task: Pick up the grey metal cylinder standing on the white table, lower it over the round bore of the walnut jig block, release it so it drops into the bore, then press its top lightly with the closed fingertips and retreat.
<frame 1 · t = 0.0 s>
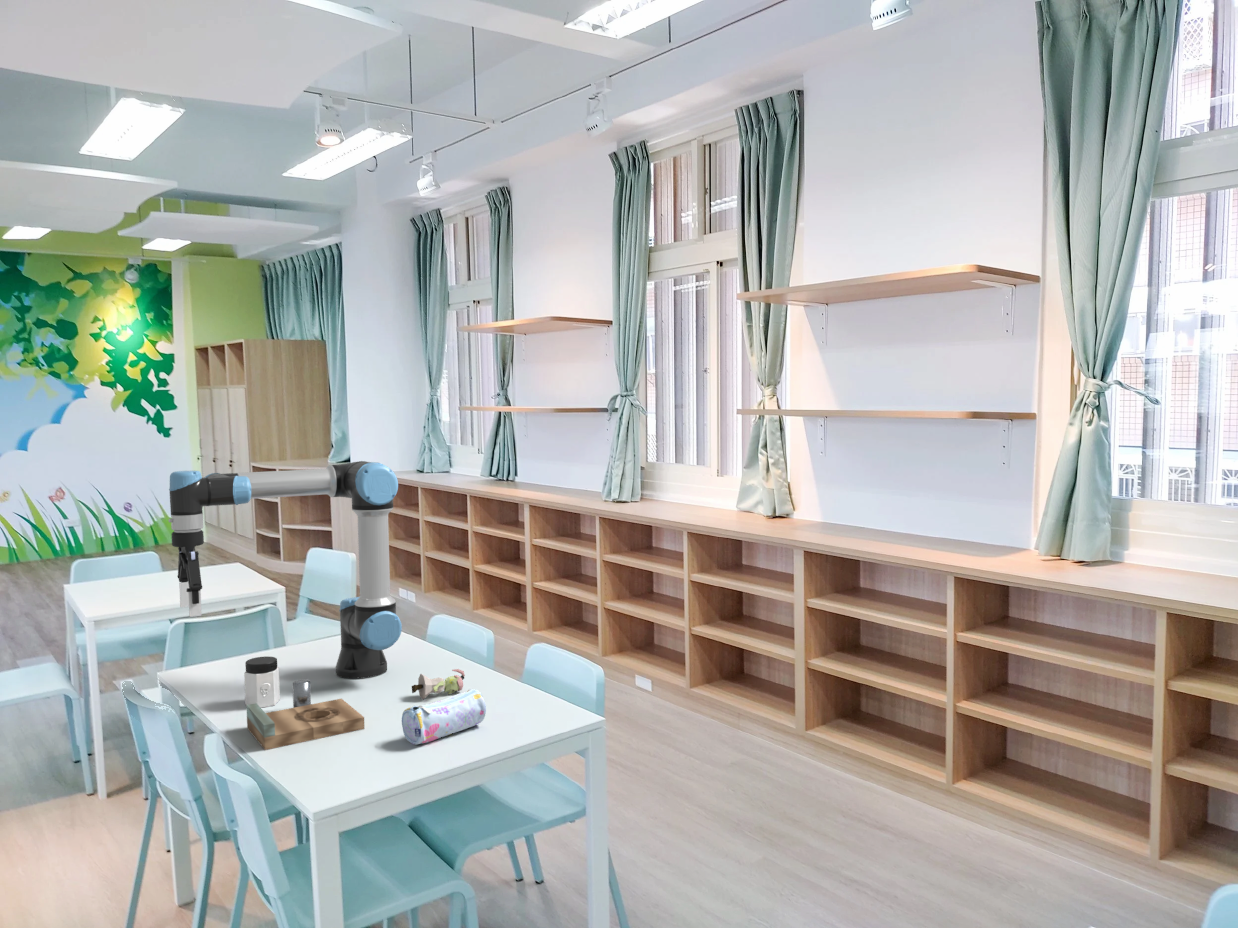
hand: (190, 611, 238), 28 cm above the table, fingers open, 13 cm apart
pencil case: (444, 734, 225), on the table
jig: (305, 728, 230), on the table
figurine: (440, 697, 255), on the table
grey metal cylinder: (302, 711, 243), on the table
jar: (262, 703, 250), on the table
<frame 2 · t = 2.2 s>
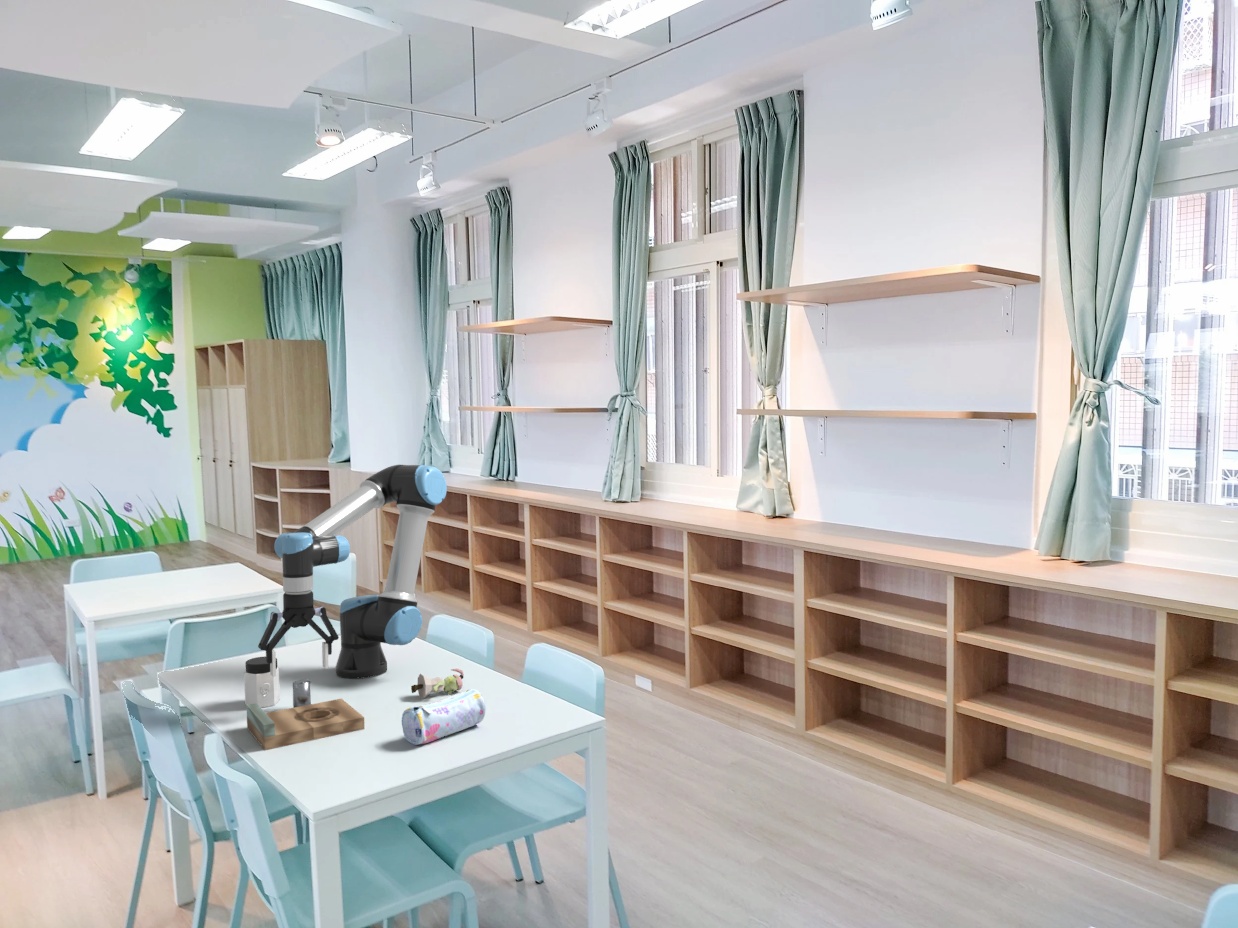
hand: (299, 670, 242), 11 cm above the table, fingers open, 13 cm apart
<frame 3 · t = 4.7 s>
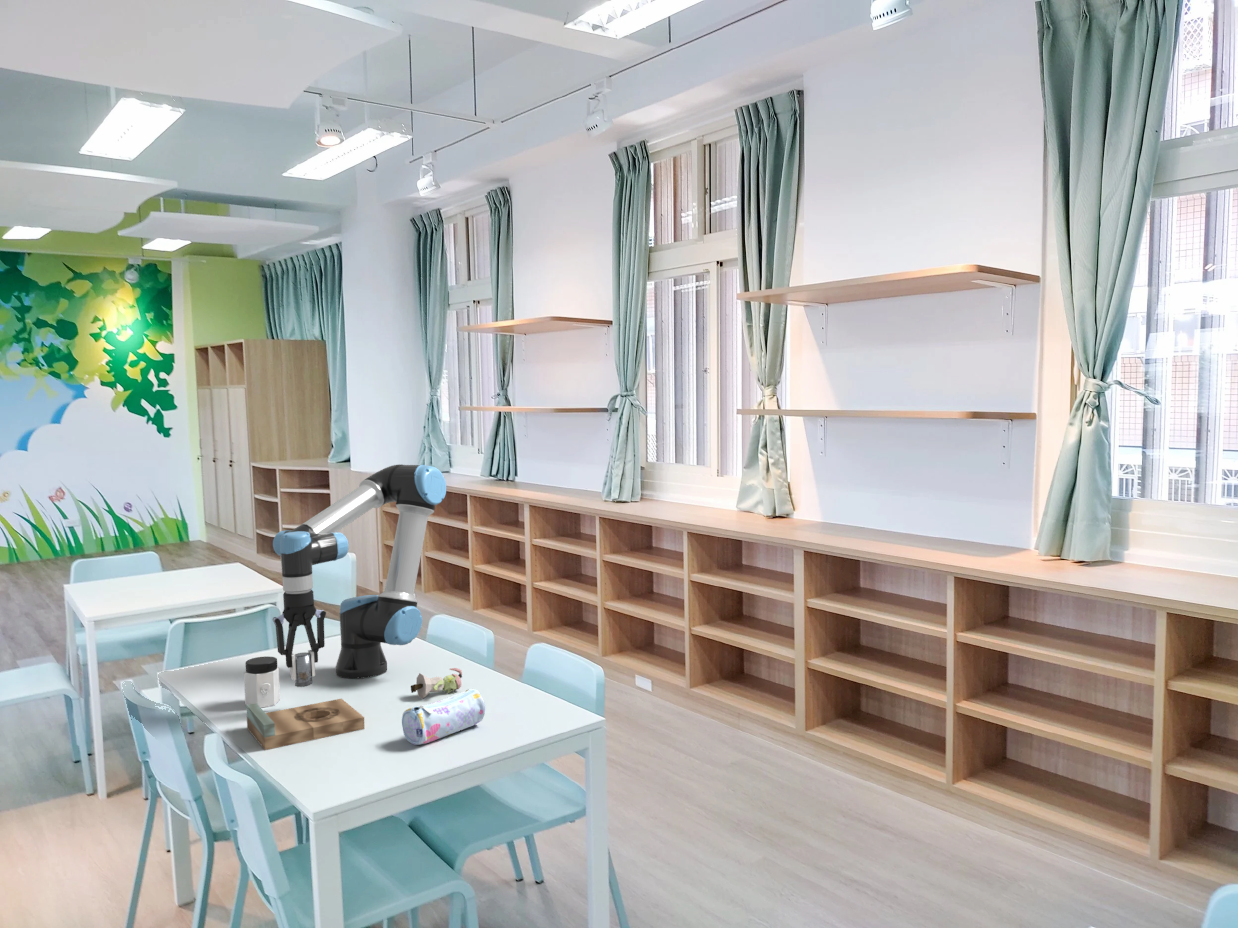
hand: (303, 676, 243), 9 cm above the table, fingers closed on grey metal cylinder, 4 cm apart
grey metal cylinder: (303, 684, 243), point 7 cm above the table, touching gripper
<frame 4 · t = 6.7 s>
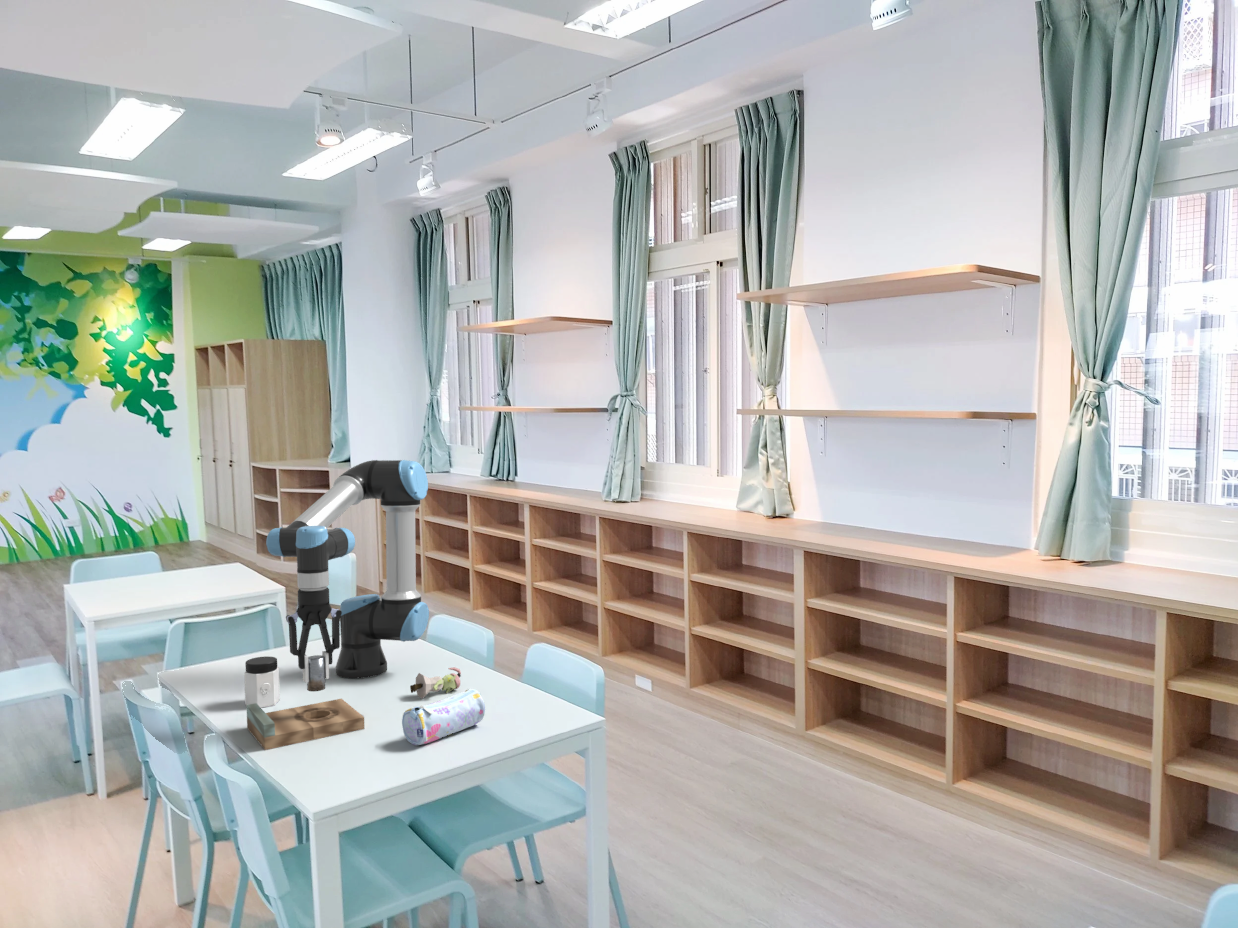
hand: (316, 678, 231), 12 cm above the table, fingers closed on grey metal cylinder, 4 cm apart
grey metal cylinder: (316, 688, 231), point 10 cm above the table, touching gripper
when the fingers open (4 cm above the table, at t = 9.0 s): grey metal cylinder drops 1 cm, resting in jig.
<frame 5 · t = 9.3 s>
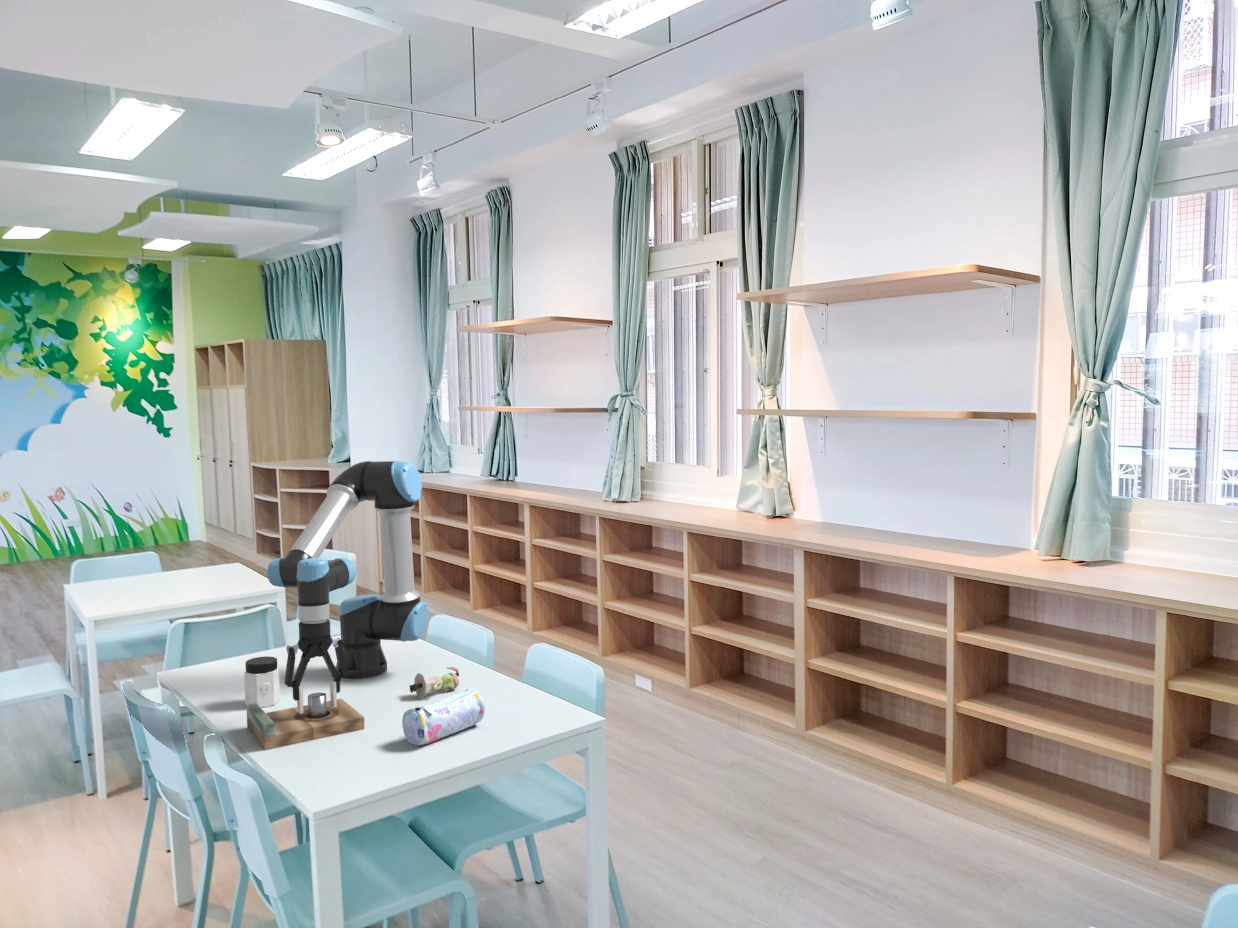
hand: (317, 708, 231), 4 cm above the table, fingers open, 8 cm apart
grey metal cylinder: (317, 726, 232), resting in jig
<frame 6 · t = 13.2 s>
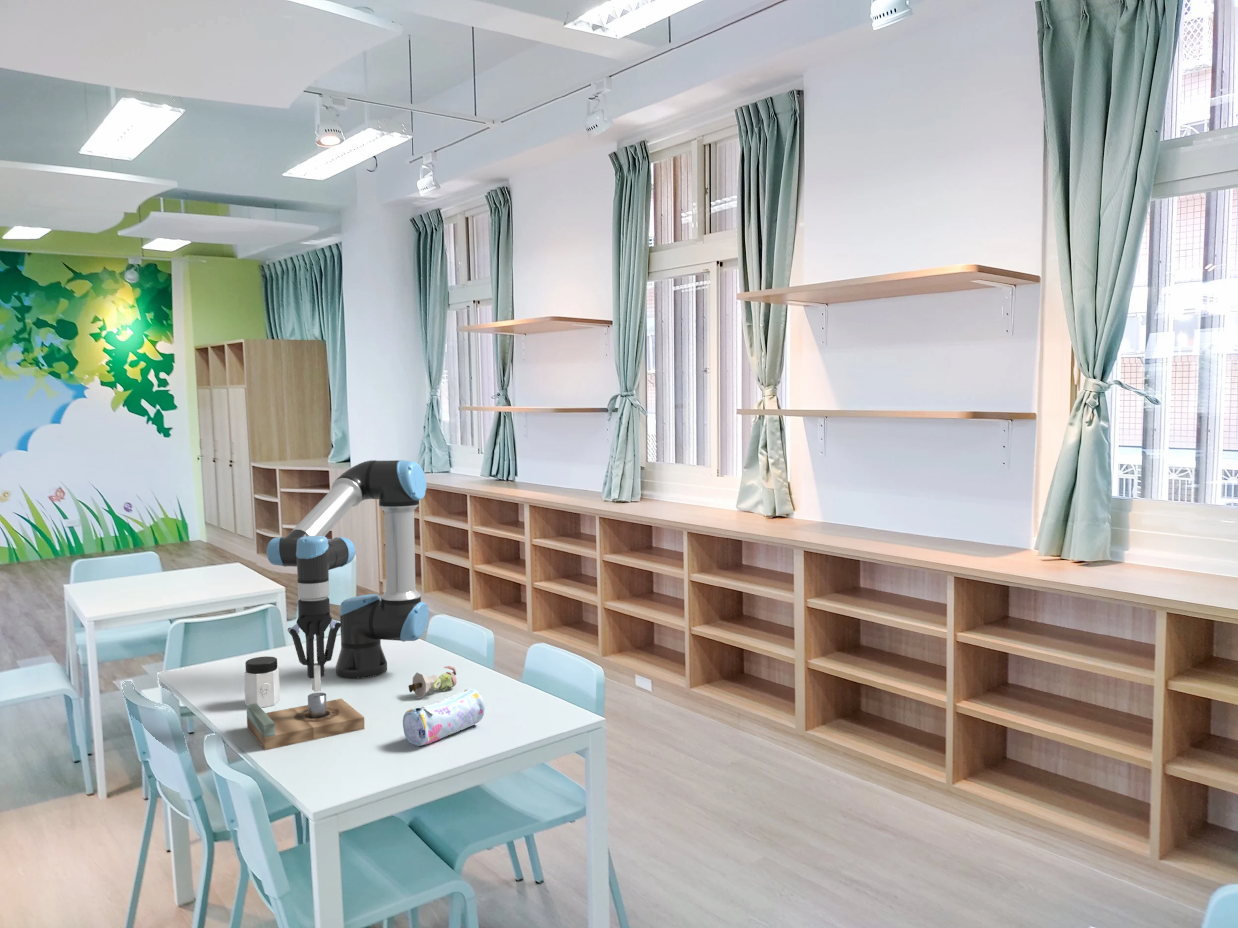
hand: (316, 689, 231), 9 cm above the table, fingers closed
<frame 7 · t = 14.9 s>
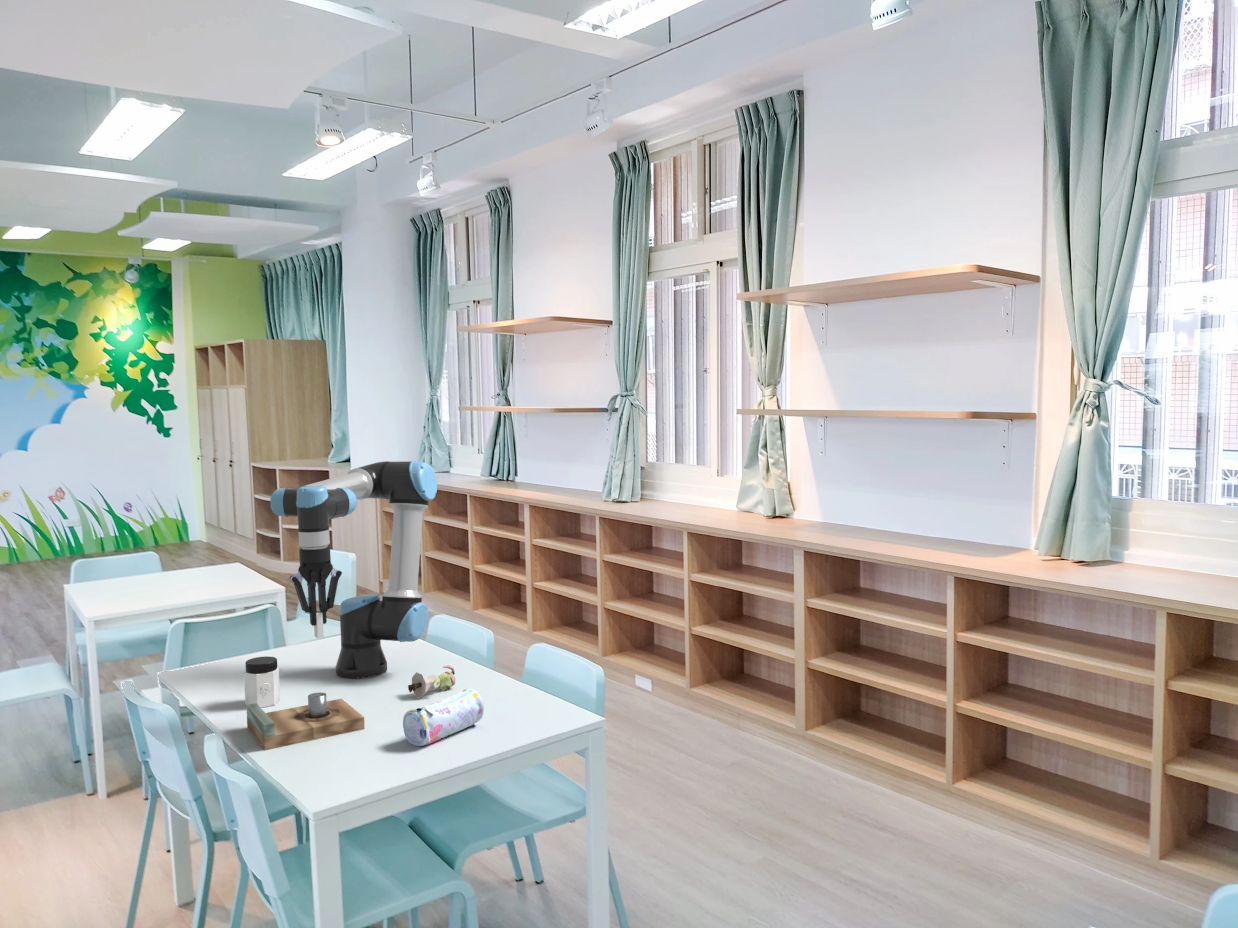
hand: (319, 636, 235), 22 cm above the table, fingers closed
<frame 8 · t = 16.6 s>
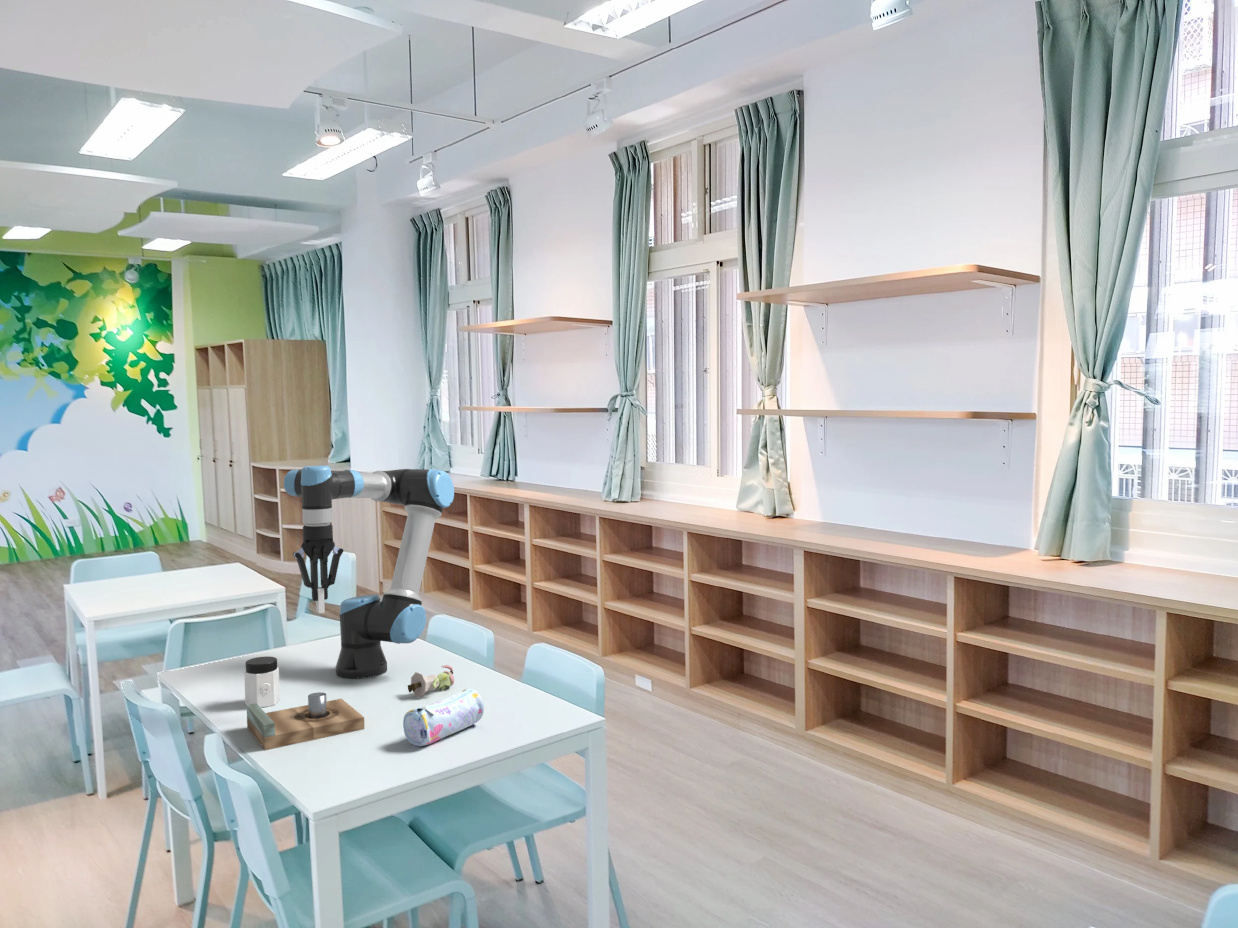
hand: (320, 612, 243), 26 cm above the table, fingers closed
at the end: grey metal cylinder 0.0 cm from the target spot in the jig, point 0.0 cm above the jig's base; grey metal cylinder tilted 1°; the gripper is holding nothing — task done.
